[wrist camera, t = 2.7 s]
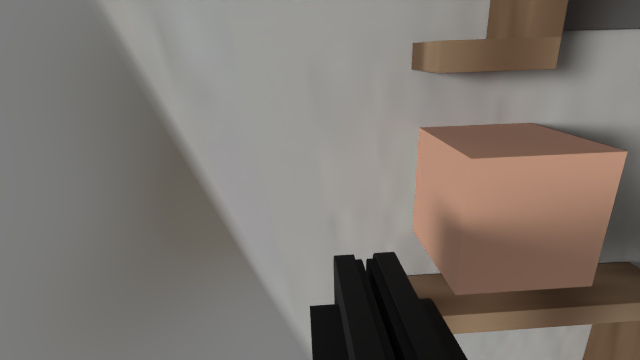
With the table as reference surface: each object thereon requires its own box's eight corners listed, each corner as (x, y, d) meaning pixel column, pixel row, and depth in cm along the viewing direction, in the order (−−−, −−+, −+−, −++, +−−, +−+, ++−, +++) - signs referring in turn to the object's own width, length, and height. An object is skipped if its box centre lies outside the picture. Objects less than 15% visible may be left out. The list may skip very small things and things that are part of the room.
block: (412, 229, 17) (455, 295, 13) (418, 127, 16) (471, 158, 11) (512, 223, 18) (591, 286, 13) (529, 122, 16) (627, 151, 11)
